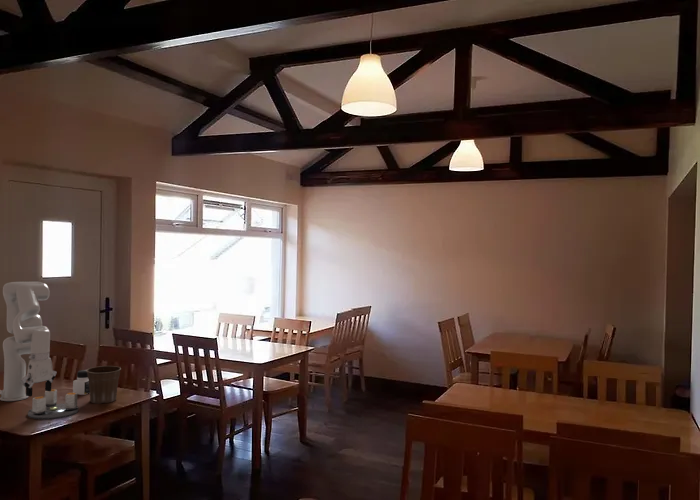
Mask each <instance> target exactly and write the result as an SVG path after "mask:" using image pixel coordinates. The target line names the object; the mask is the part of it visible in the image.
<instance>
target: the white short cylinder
mask: <svg viewBox="0 0 700 500" xmlns="http://www.w3.org/2000/svg"><path fill="white" fill-rule="evenodd" d="M64 398H65V401H64V404H65V408H66V410H75V409H77V406H78V393H73V392H67V394H65V397H64Z"/></svg>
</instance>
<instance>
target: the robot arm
mask: <svg viewBox="0 0 700 500" xmlns="http://www.w3.org/2000/svg"><path fill="white" fill-rule="evenodd" d="M50 294H51V291H50V287H49V286H48V284H46V283H44V282H42V281H11V282H6V283H5V284H4V285H3V286H2V296H3V299H4V302H5V304H6V330H7V332H8V333H10V334H13V336H8V337H6V338H5V339H4V340H3V342H2V351H3V358H4V361H3V362H4V365H3V366H4V369H3V372H4V373H3V389H2V390H1V389H0V401H2V402H3V401H4V402H17V401H22V400H26V399H28V398H31V397H33V389H34V388H33V385H34V384H38V383H42V382H45V384H44V387H45V389H44V390H45V391H49V392H50V391H51V389H52V383H54V379H56V375H57V371H56V370H54V369H53V362H52V358H51V357H50V354H51V353H50V351H51V350H50V349H51V347H50V346H51V345H50V344H51V331H50V329H49V327H47V326H45V325H43V320H42V316H41V315H40V314H39V313H41V312H40V311H41V307H40V302H39V301H47V300H48V299H49V298H50ZM22 355H29V356H28V359H29V360H28V365H27V363H26V362H27V361H25V359H24V358H23V357H22ZM45 391H44V392H45Z"/></svg>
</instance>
